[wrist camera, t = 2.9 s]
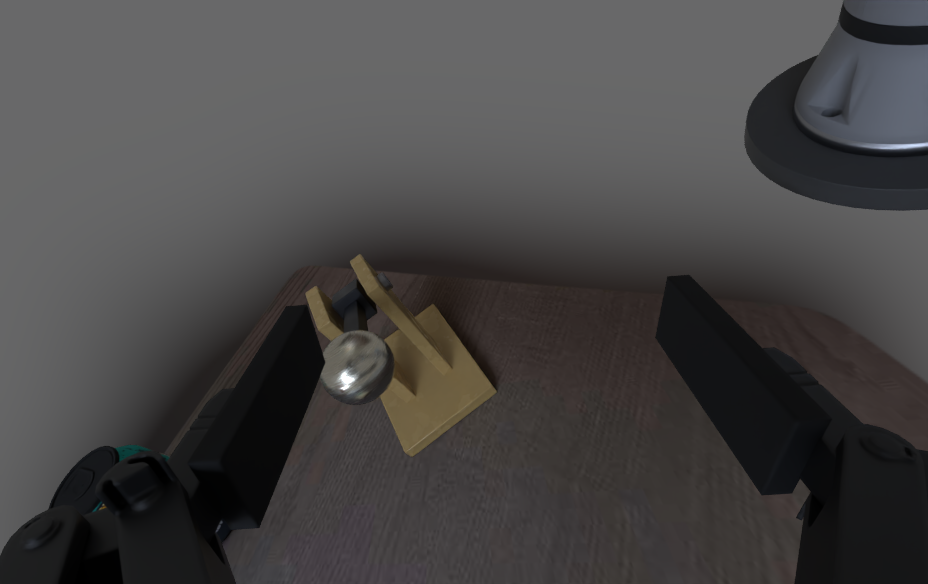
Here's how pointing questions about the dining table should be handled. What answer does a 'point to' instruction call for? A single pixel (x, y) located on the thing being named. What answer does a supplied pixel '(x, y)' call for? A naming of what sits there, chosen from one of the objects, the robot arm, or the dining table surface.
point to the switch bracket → (415, 363)
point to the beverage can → (89, 472)
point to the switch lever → (356, 351)
